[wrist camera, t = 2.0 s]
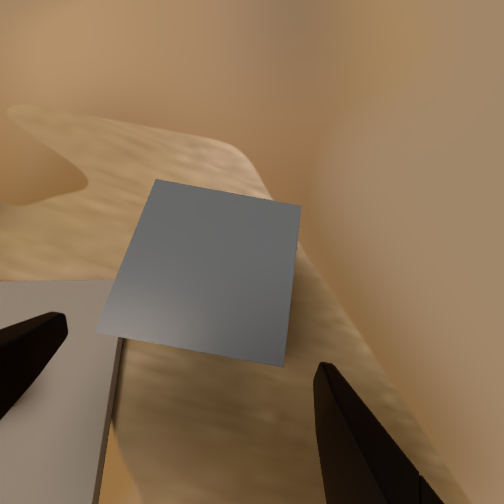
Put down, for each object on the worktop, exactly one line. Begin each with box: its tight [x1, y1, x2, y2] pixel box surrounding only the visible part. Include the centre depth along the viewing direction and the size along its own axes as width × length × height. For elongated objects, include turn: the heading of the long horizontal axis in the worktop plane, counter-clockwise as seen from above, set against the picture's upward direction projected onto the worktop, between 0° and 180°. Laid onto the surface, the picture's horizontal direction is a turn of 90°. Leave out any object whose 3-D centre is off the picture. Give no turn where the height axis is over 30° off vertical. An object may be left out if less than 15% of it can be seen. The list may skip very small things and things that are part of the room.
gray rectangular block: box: [94, 179, 301, 367], centre depth 14 cm, size 6×6×10 cm
